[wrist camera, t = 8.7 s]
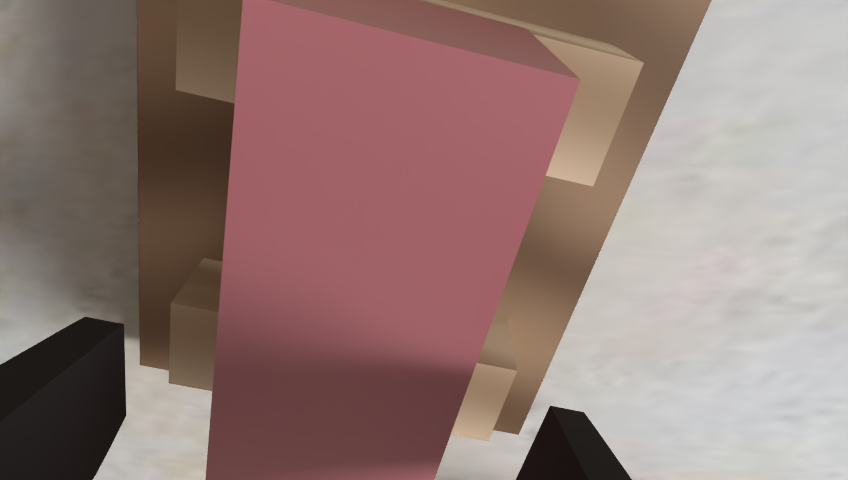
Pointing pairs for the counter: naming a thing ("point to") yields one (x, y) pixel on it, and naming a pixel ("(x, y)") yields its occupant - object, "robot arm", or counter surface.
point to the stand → (547, 228)
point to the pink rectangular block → (370, 229)
